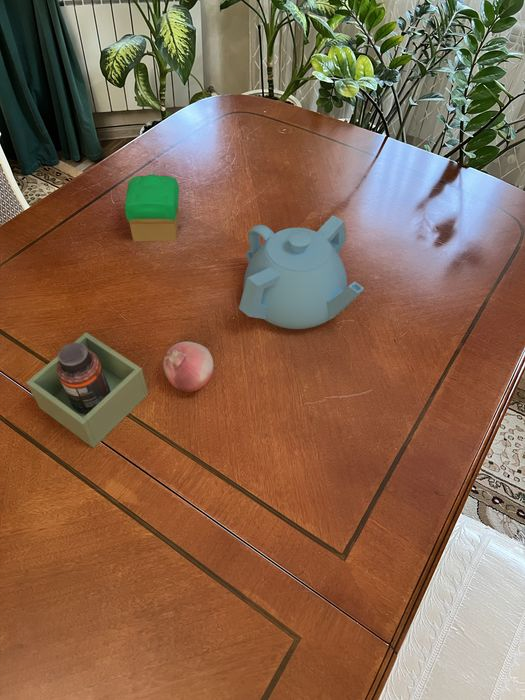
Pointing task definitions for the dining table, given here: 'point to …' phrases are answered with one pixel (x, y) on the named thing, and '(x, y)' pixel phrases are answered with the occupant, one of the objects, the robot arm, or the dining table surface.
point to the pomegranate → (188, 366)
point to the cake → (153, 208)
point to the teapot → (297, 276)
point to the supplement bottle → (82, 377)
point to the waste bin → (107, 413)
